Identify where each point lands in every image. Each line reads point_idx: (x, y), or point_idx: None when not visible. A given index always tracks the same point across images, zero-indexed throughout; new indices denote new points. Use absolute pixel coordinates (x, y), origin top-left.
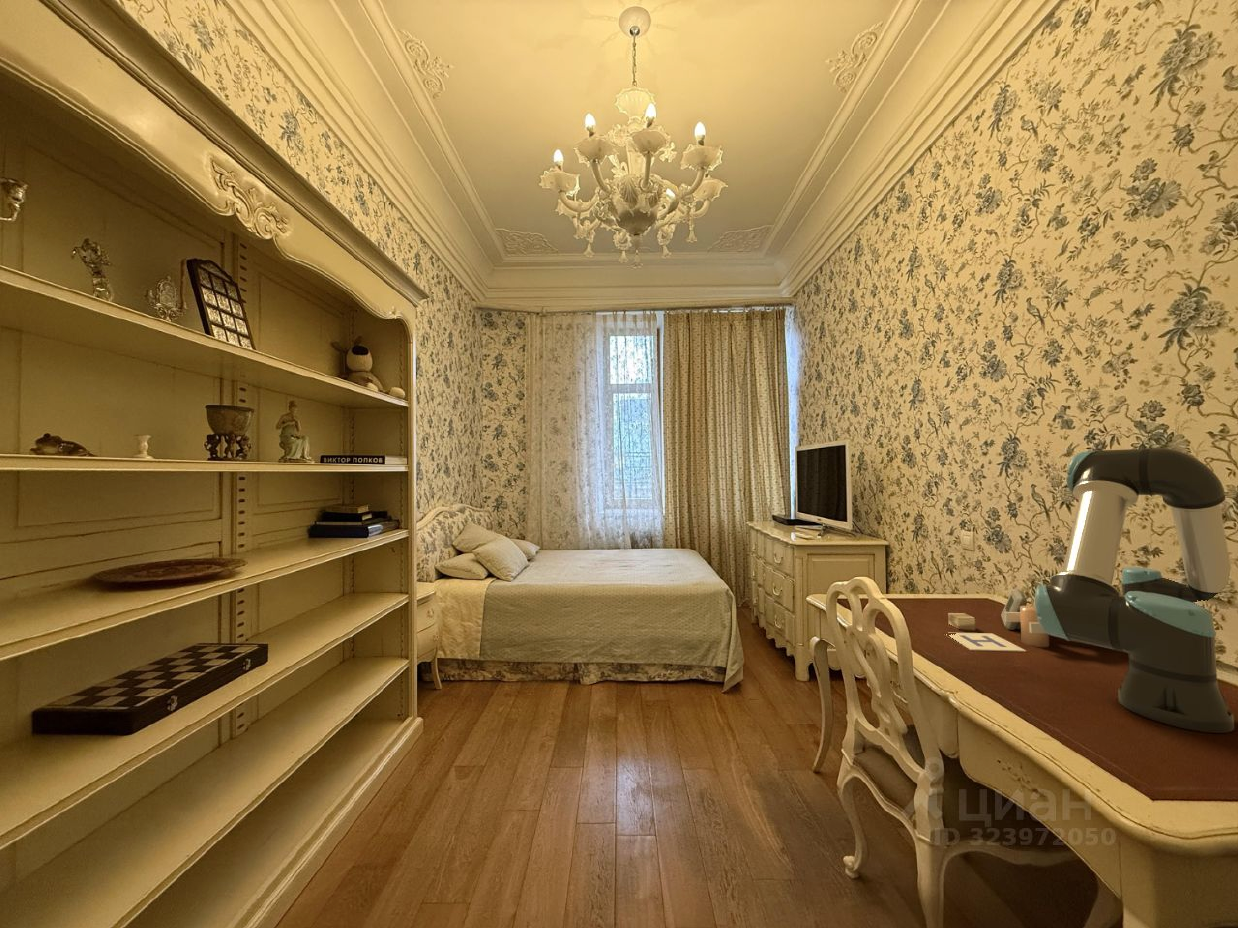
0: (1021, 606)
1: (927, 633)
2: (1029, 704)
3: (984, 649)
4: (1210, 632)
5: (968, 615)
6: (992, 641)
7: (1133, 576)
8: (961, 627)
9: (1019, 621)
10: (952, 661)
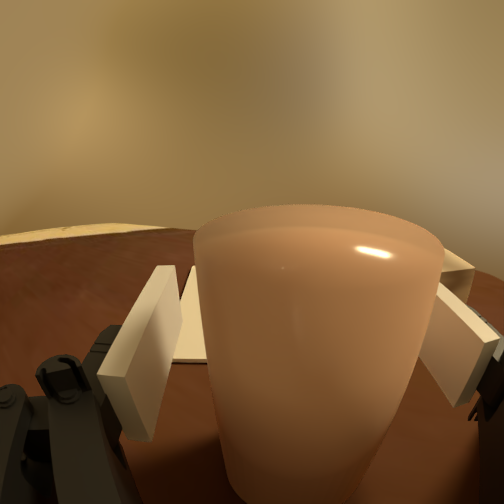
0: (370, 213)
1: None
2: (6, 255)
3: (187, 281)
4: None
5: (453, 269)
6: None
7: None
8: None
9: (419, 354)
10: (139, 241)
